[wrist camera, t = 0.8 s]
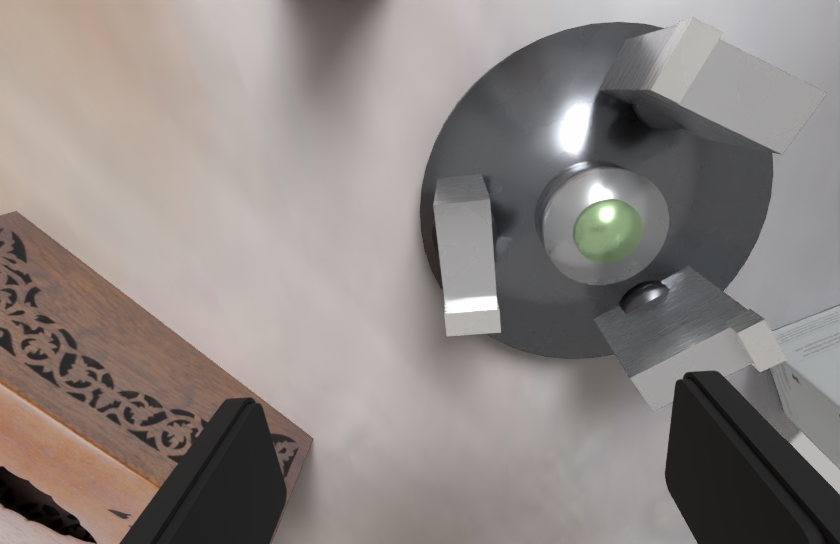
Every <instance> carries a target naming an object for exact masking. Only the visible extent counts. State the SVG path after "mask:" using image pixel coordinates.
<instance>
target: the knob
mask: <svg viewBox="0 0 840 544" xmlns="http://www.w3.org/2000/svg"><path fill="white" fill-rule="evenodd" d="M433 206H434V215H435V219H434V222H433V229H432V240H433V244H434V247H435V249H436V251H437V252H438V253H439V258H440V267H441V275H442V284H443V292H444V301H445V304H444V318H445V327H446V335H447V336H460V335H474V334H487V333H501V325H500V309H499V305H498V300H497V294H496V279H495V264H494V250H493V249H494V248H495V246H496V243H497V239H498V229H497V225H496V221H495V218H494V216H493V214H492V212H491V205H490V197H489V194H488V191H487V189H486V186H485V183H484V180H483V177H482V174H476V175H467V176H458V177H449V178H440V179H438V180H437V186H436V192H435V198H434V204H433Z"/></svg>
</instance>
